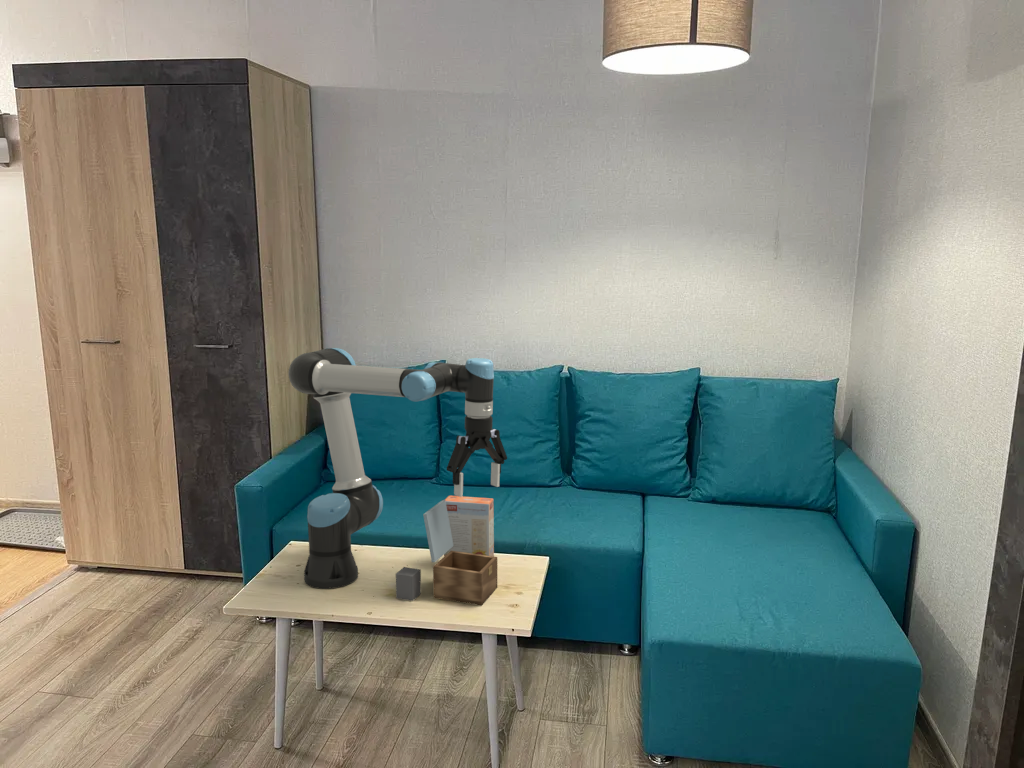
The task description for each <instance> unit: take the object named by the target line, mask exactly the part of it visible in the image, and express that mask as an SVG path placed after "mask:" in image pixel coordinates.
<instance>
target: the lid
mask: <svg viewBox="0 0 1024 768" xmlns="http://www.w3.org/2000/svg"><path fill="white" fill-rule="evenodd" d="M422 516H423V520H424V526H425V532H426V538H427V543H428V550H429V554H430V559H431V563H437V562H438V561H439V559H441V558H442V557H444V554H445V553H446V552H447V551H448V550H449V549H450V548H452V547H453V540H452V535H451V529H450V523H449V518H448V512H447V506H446V500H445V499H443V500H441V501H439V502H437V504H435V505H434V506H432V507H431V508H429V509H428V510H427V511H426V512H425V513H423V515H422Z"/></svg>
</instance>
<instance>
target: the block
mask: <svg viewBox="0 0 1024 768" xmlns="http://www.w3.org/2000/svg"><path fill="white" fill-rule="evenodd" d="M421 574H422V573H421V569H420V568H414V567H408V566H407V567H406V566H403V567H402V568H401V569H400V570H399V571H397V572H396V573H395V599H398V600H406V601H412V602H413V601H415V600H416V599H417V598H418V596H420V595H421V593H422V585H421V584H422V583H421V582H422V581H421Z"/></svg>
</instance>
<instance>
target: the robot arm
mask: <svg viewBox="0 0 1024 768" xmlns="http://www.w3.org/2000/svg"><path fill="white" fill-rule="evenodd" d="M287 373H288V379H289V382H290V384H291V386H293V389H295V390H296V391H298V392H300V393H302V394H307V395H312V396H313V399H314V400H316V401H317V402H318V403H319V404H320V410H321V414H322V418H323V419H322V420H323V423H324V424H323V425H324V428H325V433H326V438H327V439H326V440H327V443H328V448H329V454H330V458H331V459H330V460H331V462H332V468H333V471H334V472H333V473H334V477H335V483H334V484H333V486H332V487H331V489H332V492H331V493H327V494H322V495H318V496H317V497H315V498H314V499H312V500H311V501H310V502H309V504H308V506H307V516H306V519H307V532H308V533H307V535H308V551H309V552H308V557H307V560H306V564H305V566H304V567H305V568H304V571H303V582H304V583H305V584H306V585H307V586H309V587H310V588H315V589H324V590H326V589H328V590H329V589H337V588H341V587H345V586H347V585H350V584H352V583H354V582H355V581H357V579H358V578H359V568H358V565H357V563H356V560H355V557H354V555H353V552H352V538H351V537H352V536H351V535H352V534H354V533H357V531H359V530H362V529H363V528H365V527H367V526H369V525H371V524H373V523H374V521H376V520H377V519H378V518H379V517H380V516H381V513H382V511H383V509H384V507H383V506H384V498H383V496H382V493H381V491H380V490H379V489H377V487H376V486H375V485H374V484H373V482H372V478H369V477H368V476H367V475H366V473H365V470H364V464H363V459H362V453H361V449H360V444H359V439H358V434H357V429H356V424H355V419H354V414H353V410H352V405H351V398H350V397H351V395H352V394H357V395H358V394H359V395H360V394H361V395H369V396H370V395H373V396H383V397H384V396H386V397H397V398H399V397H400V398H406V399H408V400H409V401H411V402H420V401H421V402H422V401H427V400H428V399H430V398H433V397H435V396H438V395H441V394H443V393H446V392H453V393H455V392H456V393H462V394H463V393H464V395H465V397H464V399H465V401H464V402H465V403H464V414H465V416H464V430H465V435H463V436H462V435H457V436H456V440H455V445H454V448H453V451H452V452H451V455H450V458H449V461H448V464H447V465H446V466H447V467H446V471H448V472H451V473H452V485H453V487H454V488H453V494H454V495H453V496H459V497H464V495H463V493H464V473H463V472H462V471H463V469H464V467H465V466H466V464H467V462H468V460H469V459H470V457H471V456H472V455H473V454H474V453H475V451H479V450H484V449H485V451H486V453H488V455H489V456H490V457H491V459H492V462H491V464H490V466H491V467H490V469H491V470H490V485H491V486H493V487H496V488H498V487H499V488H500V477H501V473H502V465H504V463H505V461H507V459H508V455H507V453H506V450H505V448H504V445H503V442H502V439H501V437H500V435H501V434H500V430H499V429H495V428H493V416H492V415H493V409H494V407H493V406H494V379H495V374H494V362H493V361H492V360H491V359H489V358H485V357H483V358H482V357H473V358H471V357H470V358H468V359H467V360H466V361H465V364H455V363H449V362H448V363H446V362H442V361H438V362H435V361H433V362H428V363H427V365H426V366H425V367H424V368H423V369H417V368H416V369H415V368H414V369H413V368H401V367H399V368H397V367H384V366H369V365H367V366H366V365H357V364H356V361H355V359H354V358H353V356H352V355H351V354H350V353H349V352H347V351H346V350H345V349H343V348H339V347H333V348H332V347H329V348H323V349H320V350H315V351H310V352H305V353H304V352H303V353H302V354H299V355H298V356H296V357H295V358H294V359H293V360H292V361H291V363H290V364H289V368H288V372H287ZM490 440H491V441H492V442H491V441H490Z"/></svg>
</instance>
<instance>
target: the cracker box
mask: <svg viewBox="0 0 1024 768" xmlns="http://www.w3.org/2000/svg"><path fill="white" fill-rule="evenodd" d="M444 500H446V506H447V512H448V518H449V523H450V529H451V535H452V540H453V547H452V548H450V549H449V550H448V551H447V552H446V553H445V554H444V555H443V557H444V556H445V555H447V554H448V553H449V552H450V551H458V552H465V553H472V554H479V555H487V556H494V557H495V547H494V546H495V534H494V533H495V532H494V531H495V529H494V527H495V526H494V521H495V520H494V516H495V515H494V511H495V509H494V508H495V507H494V498H489V497H476V496H475V497H474V496H463V497H459V496H457V495H448V496H447V497H446V498H445V499H444Z"/></svg>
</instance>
